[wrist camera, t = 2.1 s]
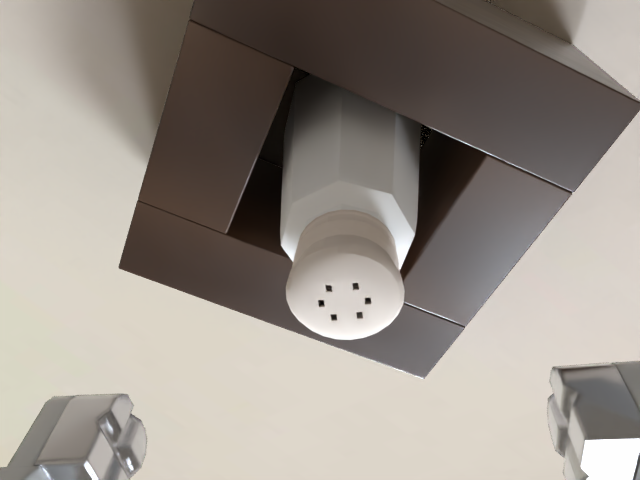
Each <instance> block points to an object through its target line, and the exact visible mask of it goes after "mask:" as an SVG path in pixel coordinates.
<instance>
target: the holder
mask: <svg viewBox="0 0 640 480" xmlns="http://www.w3.org/2000/svg"><path fill="white" fill-rule="evenodd" d="M295 67H297V68H299V69H301V70H303V71H306V72H308V73H310V74H312V75H315V76H317V77H319V78H321V79H323V80H326V81H328V82H330V83H332V84H334V85H337V86H339V87H341V88H343V89H346V90H348V91H350V92H352V93H354V94H357V95H359V96H361V97H363V98H365V99H368V100H370V101H372V102H374V103H377V104H379V105H381V106H383V107H385V108H388V109H390V110H392V111H394V112H397V113H399V114H401V115H403V116H405V117H408V118H410V119H412V120H414V121H416V122H419V123H421V124H423V125H425V126H428V127H430V128H432V129H433V130H432V132H431V133H430V135H429V137H428V138H427V140H426V142H425V144H424V145H423V147H422V149H421V150H420V161H419V187H418V212H417V225H416V232H415V236H414V239H413V241H412V243H411V246H410V248H409V250H408V253H407V255H406V257H405V260H404V262H403V264H402V267H401V269H400V274H401V277H402V281H403V285H404V290H405V293H404V303H403V306H402V308H401V310H400V312H399V314H398V316H397V317H396V318H395V319H394V320H393V321H392V322H391V324H389V325H388V326H386V327H385V328H383V329H382V330H380V331H379V332H377V333H375V334H373V335H370V336H367V337H365V338H359V339H353V340H342V339H333V338H329V337H325V336H322V335H320V334H318V333H316V332H313V331H311V330H310V329H309V328H307V327H306V326H305V325H304V324H302V323H301V322H300V321H298V319H297V318H296V317H295V315H294V314H293V313H292V312H291V310H290V307H289V305H288V302H287V300H286V285H287V281H288V278H289V274H290V271H291V269H292V265H293V261H292V260H291V259H290V257H289V256H288V255H287V253H286V252H285V251H284V249H283V248H282V246H281V239H280V221H281V196H282V172H283V168H281V167H279V166H277V165H274V164H272V163H269V162H267V161H264V160H262V159H260V158H258V156H259V154H260V151H261V149H262V146H263V144H264V141H265V139H266V136H267V134H268V132H269V129H270V127H271V124H272V122H273V119H274V117H275V114H276V112H277V110H278V107H279V105H280V102H281V100H282V97H283V95H284V92H285V90H286V87H287V85H288V83H289V80H290V78H291V75H292V73H293V70H294V68H295ZM639 111H640V100H638V99H637V98H636V97H635V96H634V95H632V94H631V93H630V92H629V91H628V90H626V89H625V88H624V87H623V86H622V85H620V84H619V83H618V82H617V81H616V80H614V79H613V78H612V77H611V76H610V75H609V74H607V73H606V72H605V71H604V70H603V69H601V68H600V67H599V66H598V65H597V64H595V63H594V62H593V61H592V60H591V59H589V58H588V57H587V56H586V55H585V54H583V53H582V52H581V51H580V50H579V49H577V48H576V47H575V46H574V45H572V44H570V43H568V42H566V41H564V40H562V39H560V38H558V37H556V36H554V35H552V34H550V33H548V32H546V31H544V30H542V29H540V28H538V27H536V26H534V25H532V24H530V23H528V22H526V21H524V20H522V19H520V18H518V17H516V16H514V15H513V14H511V13H509V12H507V11H505V10H503V9H501V8H499V7H497V6H495V5H493V4H491V3H489V2H487V1H485V0H194V3H193V7H192V10H191V14H190V20H189V21H188V25H187V28H186V32H185V35H184V39H183V42H182V46H181V49H180V53H179V56H178V60H177V63H176V67H175V70H174V74H173V77H172V81H171V84H170V88H169V91H168V95H167V98H166V102H165V105H164V109H163V113H162V116H161V120H160V123H159V127H158V130H157V134H156V137H155V141H154V144H153V148H152V151H151V155H150V158H149V162H148V165H147V169H146V172H145V176H144V179H143V183H142V186H141V190H140V193H139V197H138V201H137V204H136V207H135V211H134V214H133V218H132V221H131V225H130V228H129V232H128V235H127V239H126V243H125V246H124V250H123V253H122V257H121V260H120V264H119V269H122V270H125V271H127V272H130V273H133V274H136V275H138V276H141V277H144V278H147V279H149V280H152V281H155V282H158V283H160V284H163V285H166V286H169V287H172V288H174V289H177V290H180V291H183V292H185V293H188V294H191V295H194V296H196V297H199V298H202V299H205V300H207V301H210V302H213V303H216V304H218V305H221V306H224V307H227V308H229V309H232V310H235V311H238V312H240V313H243V314H246V315H249V316H251V317H254V318H257V319H260V320H262V321H265V322H268V323H271V324H274V325H276V326H279V327H282V328H285V329H287V330H290V331H293V332H296V333H298V334H301V335H304V336H307V337H309V338H312V339H315V340H318V341H320V342H323V343H326V344H329V345H331V346H334V347H337V348H340V349H342V350H345V351H348V352H351V353H353V354H356V355H359V356H362V357H364V358H367V359H370V360H373V361H375V362H378V363H381V364H384V365H387V366H389V367H392V368H395V369H398V370H400V371H403V372H406V373H409V374H411V375H414V376H417V377H420V378H422V379H424V378H425V377H426V376H427V375H428V373H429V372H430V371H431V370H432V368H433V367H434V366H435V365H436V363H437V362H438V361H439V360H440V358H441V357H442V356H443V355H444V353H445V352H446V351H447V350H448V348H449V347H450V346H451V345H452V343H453V342H454V341H455V340H456V338H457V337H458V336H459V335H460V333H461V332H462V331H463V330H464V328H465V326H467V324H468V323H469V322H470V321H471V319H472V318H473V317H474V316H475V314H476V313H477V312H478V311H479V309H480V308H481V307H482V306H483V304H484V303H485V302H486V301H487V299H488V298H489V297H490V296H491V294H492V293H493V292H494V291H495V289H496V288H497V287H498V286H499V284H500V283H501V282H502V281H503V279H504V278H505V277H506V276H507V274H508V273H509V272H510V271H511V269H512V268H513V267H514V266H515V265H516V263H517V262H518V261H519V260H520V258H521V257H522V256H523V255H524V253H525V252H526V251H527V250H528V248H529V247H530V246H531V245H532V243H533V242H534V241H535V240H536V238H537V237H538V236H539V235H540V233H541V232H542V231H543V230H544V228H545V227H546V226H547V225H548V223H549V222H550V221H551V220H552V218H553V217H554V216H555V215H556V213H557V212H558V211H559V210H560V208H561V207H562V206H563V205H564V203H565V202H566V201H567V200H568V198H569V197H570V196H571V195H572V192H574V191H575V190H576V189H577V188H578V187H579V185H580V184H581V183H582V182H583V180H584V179H585V178H586V177H587V175H588V174H589V173H590V172H591V170H592V169H593V168H594V167H595V165H596V164H597V163H598V162H599V160H600V159H601V158H602V157H603V155H604V154H605V153H606V152H607V150H608V149H609V148H610V147H611V145H612V144H613V143H614V142H615V140H616V139H617V138H618V137H619V135H620V134H621V133H622V132H623V130H624V129H625V128H626V127H627V125H628V124H629V123H630V122H631V121H632V119H633V118H634V117H635V116H636V114H637V113H638V112H639Z"/></svg>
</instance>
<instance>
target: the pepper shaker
mask: <svg viewBox="0 0 640 480" xmlns="http://www.w3.org/2000/svg"><path fill="white" fill-rule="evenodd" d="M420 136H421V123H419V122H416V121H414V120H412V119H410V118H408V117H405V116H403V115H401V114H399V113H397V112H394V111H392V110H390V109H388V108H385V107H383V106H381V105H379V104H377V103H374V102H372V101H370V100H368V99H365V98H363V97H361V96H359V95H357V94H354V93H352V92H350V91H348V90H346V89H343V88H341V87H339V86H337V85H334V84H332V83H330V82H328V81H326V80H323V79H321V78H319V77H317V76H315V75H312V74H310V75H308V76H307V77H305V78H303V79H301V80H300V81H298V82H296V85H295V89H294V93H293V97H292V101H291V106H290V110H289V114H288V118H287V122H286V127H285V131H284V148H283V172H282V196H281V221H280V239H281V246H282V248H283V249H284V251H285V252H286V253H287V255H288V256H289V257H290V259H291V260H292V261H293V265H292V269H291V271H290V274H289V278H288V281H287V285H286V300H287V302H288V305H289V307H290V310H291V312H292V313H293V314H294V315H295V317H296V318H297V319H298V321H300V322H301V323H302V324H304V325H305V326H306V327H307V328H309V329H310V330H311V331H313V332H316V333H318V334H320V335H322V336H325V337H329V338H333V339H342V340H353V339H359V338H365V337H367V336H370V335H373V334H375V333H377V332H379V331H380V330H382V329H383V328H385V327H386V326H388V325H389V324H391V322H392V321H393V320H394V319H395V318H396V317H397V316H398V314H399V312H400V310H401V308H402V306H403V303H404V293H405V290H404V285H403V281H402V277H401V274H400V269H401V267H402V264H403V262H404V260H405V257H406V255H407V253H408V250H409V248H410V246H411V243H412V241H413V239H414V236H415V232H416V225H417V212H418V187H419V161H420Z"/></svg>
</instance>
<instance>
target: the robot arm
mask: <svg viewBox="0 0 640 480" xmlns="http://www.w3.org/2000/svg"><path fill="white" fill-rule="evenodd" d="M550 384H551V387H552V390H553V394H552V395H551V396H550V397H549V398H548V406H547V415H548V425H549V430H550V434H551V438H552V441H553V445H554V448H555V451H556V452H558V453H559V454H560V455H561V456H562V457H564V458H565V460H564V469H563V475H564V478H565V480H640V361H630V362H615V363H597V364H584V365H570V366H556V367H553V368H552V370H551V373H550ZM133 406H134V405H133V403H132V401H131V399H130V398H129V396H128V394H96V395H76V396H54V397H52V398H51V399H49V400H48V401H47V402H46V403H45V404H44V406H43V408H42V409H41V411H40V413H39V414H38V416H37V418H36V419H35V421H34V423H33V424H32V426H31V428H30V429H29V431H28V433H27V434H26V436H25V438H24V439H23V441H22V443H21V444H20V446H19V447H18V449H17V451H16V452H15V454H14V456H13V457H12V459H11V461H10V462H9V464H8V466H7V467H1V468H0V480H130V478H131V477H132V476H133V475H134V474H135V473H136V472H137V471H138V470H139V469H140V468H141V467H142V464H143V461H144V458H145V455H146V447H147V436H146V430H145V427H144V425H143V423H142V421H141V420H140V419H138V418H137V417H135V416H134V415H132V414H131V411H132V409H133Z"/></svg>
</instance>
